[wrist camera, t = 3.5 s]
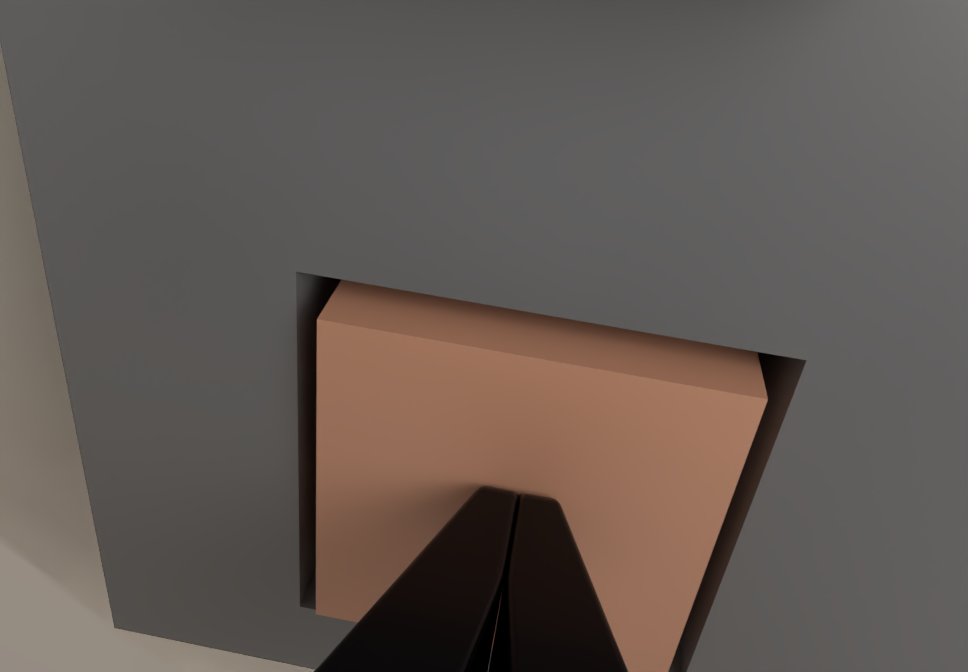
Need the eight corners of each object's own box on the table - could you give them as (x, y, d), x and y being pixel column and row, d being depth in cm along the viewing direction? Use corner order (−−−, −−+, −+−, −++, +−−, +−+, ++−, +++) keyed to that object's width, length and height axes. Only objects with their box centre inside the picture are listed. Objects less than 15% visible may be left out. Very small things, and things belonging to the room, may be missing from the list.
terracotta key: (659, 558, 12) (663, 684, 10) (360, 499, 12) (315, 613, 10) (743, 292, 9) (767, 399, 8) (372, 230, 10) (317, 319, 8)
